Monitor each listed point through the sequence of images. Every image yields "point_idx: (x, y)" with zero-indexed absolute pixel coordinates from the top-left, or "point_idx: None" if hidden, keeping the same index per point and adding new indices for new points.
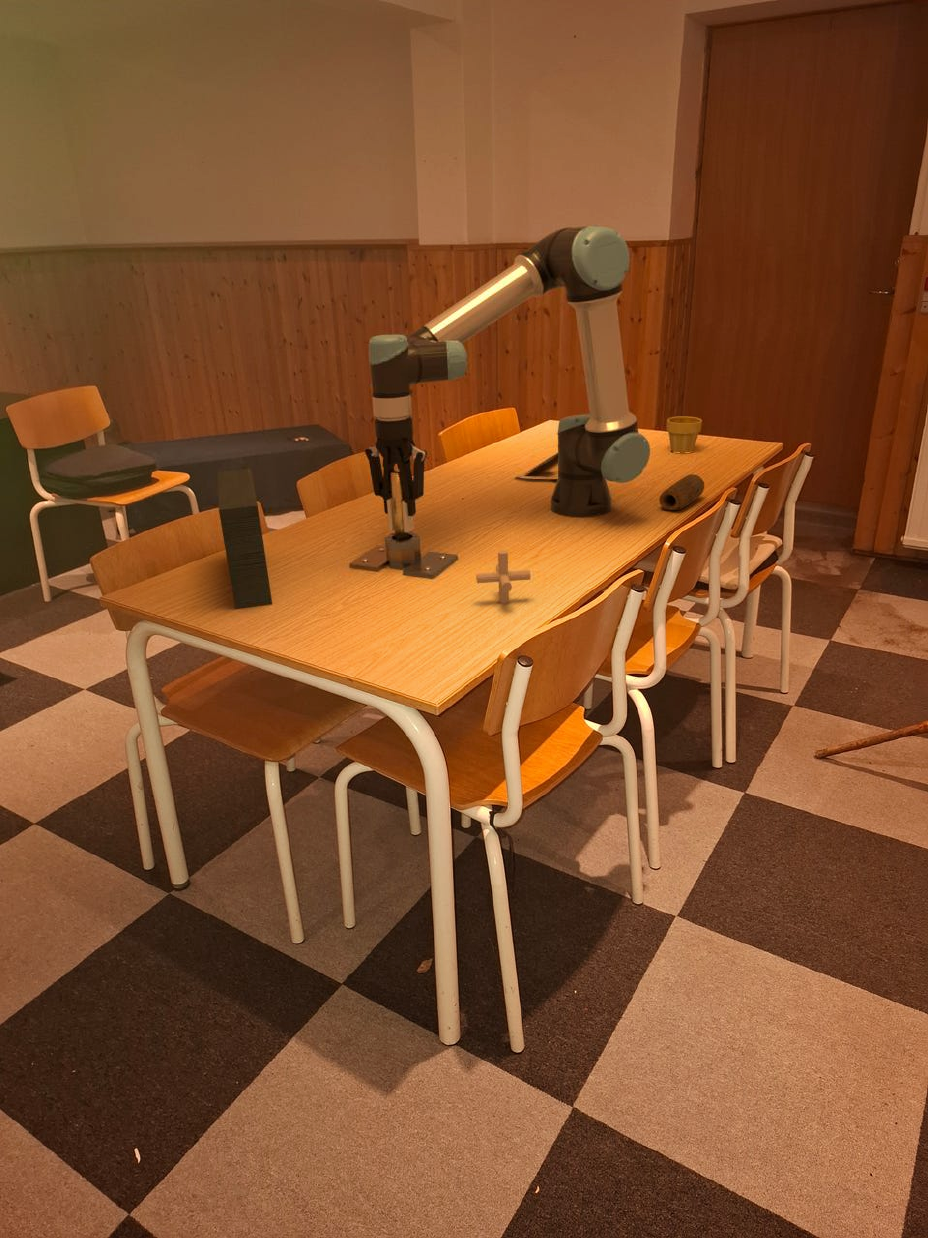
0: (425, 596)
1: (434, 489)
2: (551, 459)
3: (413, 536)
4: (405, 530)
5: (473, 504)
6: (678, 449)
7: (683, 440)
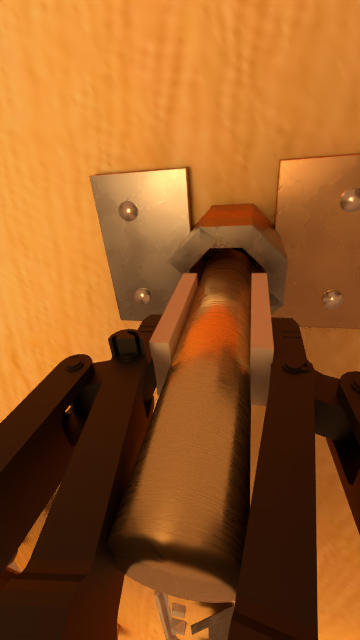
0: (25, 23)
1: (357, 585)
2: (192, 628)
3: None
4: (191, 276)
5: None
6: None
7: None
